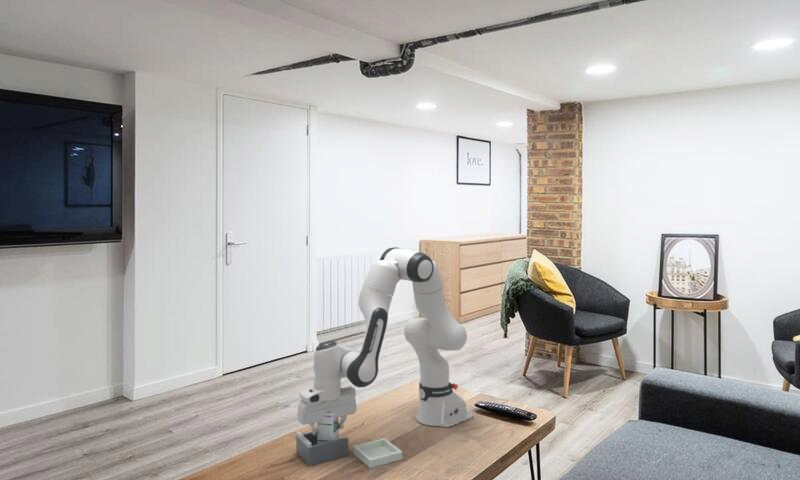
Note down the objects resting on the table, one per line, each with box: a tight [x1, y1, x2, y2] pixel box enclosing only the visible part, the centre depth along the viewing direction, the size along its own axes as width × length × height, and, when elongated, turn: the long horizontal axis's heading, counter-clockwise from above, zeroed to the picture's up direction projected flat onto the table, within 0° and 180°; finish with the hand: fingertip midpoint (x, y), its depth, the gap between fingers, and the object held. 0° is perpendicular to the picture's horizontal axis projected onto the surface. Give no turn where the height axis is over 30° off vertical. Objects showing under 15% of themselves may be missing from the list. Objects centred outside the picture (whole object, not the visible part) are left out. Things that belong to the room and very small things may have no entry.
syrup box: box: [316, 411, 340, 444], centre depth 185 cm, size 6×6×14 cm
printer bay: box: [295, 430, 349, 467], centre depth 184 cm, size 14×11×7 cm
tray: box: [352, 438, 403, 469], centre depth 183 cm, size 12×12×3 cm
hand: (328, 431), depth 185 cm, fingers closed on syrup box, 8 cm apart
